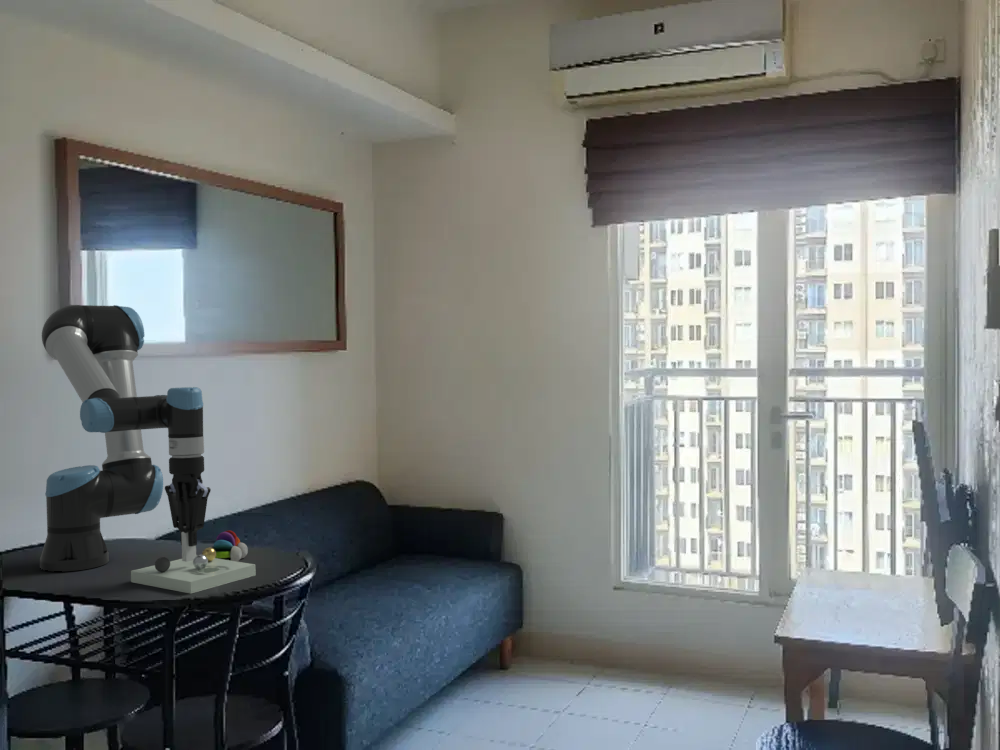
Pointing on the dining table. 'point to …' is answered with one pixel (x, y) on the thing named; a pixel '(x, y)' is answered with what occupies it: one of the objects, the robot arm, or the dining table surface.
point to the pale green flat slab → (194, 575)
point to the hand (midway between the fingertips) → (189, 560)
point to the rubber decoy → (162, 564)
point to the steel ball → (200, 561)
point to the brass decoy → (209, 553)
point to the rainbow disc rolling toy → (229, 546)
